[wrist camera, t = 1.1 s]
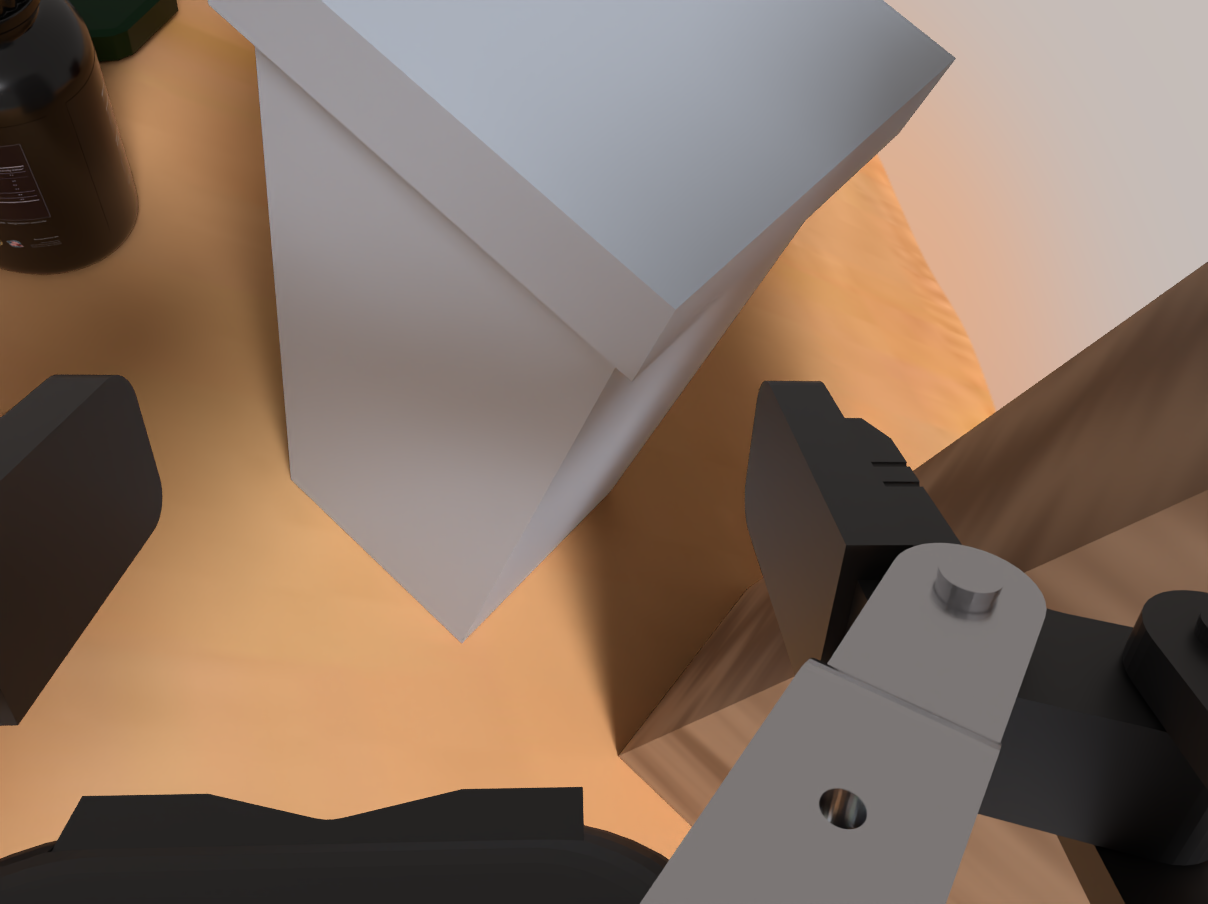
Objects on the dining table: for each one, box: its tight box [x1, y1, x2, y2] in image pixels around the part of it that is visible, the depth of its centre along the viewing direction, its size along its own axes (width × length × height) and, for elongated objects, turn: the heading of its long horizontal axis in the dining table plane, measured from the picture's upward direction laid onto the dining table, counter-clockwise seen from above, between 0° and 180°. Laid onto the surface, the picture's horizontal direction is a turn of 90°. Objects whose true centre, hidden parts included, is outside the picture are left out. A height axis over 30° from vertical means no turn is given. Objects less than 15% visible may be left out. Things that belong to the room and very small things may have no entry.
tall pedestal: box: [619, 262, 1208, 904], centre depth 19 cm, size 10×10×32 cm
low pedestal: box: [208, 0, 955, 643], centre depth 24 cm, size 10×10×22 cm
